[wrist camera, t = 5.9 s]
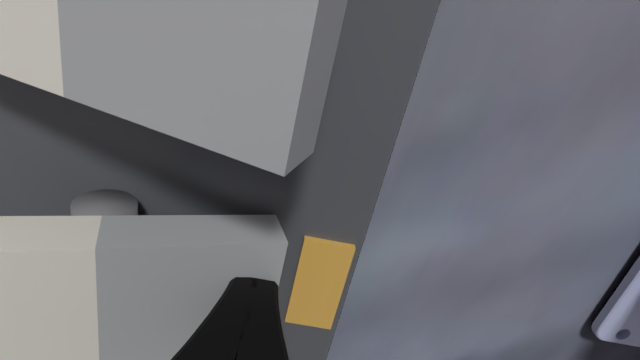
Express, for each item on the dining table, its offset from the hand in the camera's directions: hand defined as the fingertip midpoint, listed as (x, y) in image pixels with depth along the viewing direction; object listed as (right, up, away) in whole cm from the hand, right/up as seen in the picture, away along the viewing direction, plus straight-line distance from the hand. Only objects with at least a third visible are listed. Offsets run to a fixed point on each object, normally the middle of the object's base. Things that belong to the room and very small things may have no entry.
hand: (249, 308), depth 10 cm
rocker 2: (-4, +1, +1) cm, 4 cm away
